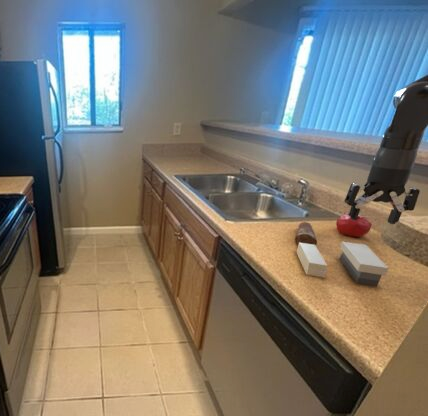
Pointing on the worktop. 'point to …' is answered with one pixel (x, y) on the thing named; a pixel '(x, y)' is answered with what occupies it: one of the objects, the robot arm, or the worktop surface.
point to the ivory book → (363, 258)
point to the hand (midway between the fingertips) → (371, 221)
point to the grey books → (360, 273)
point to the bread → (305, 234)
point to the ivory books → (311, 260)
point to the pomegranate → (353, 225)
